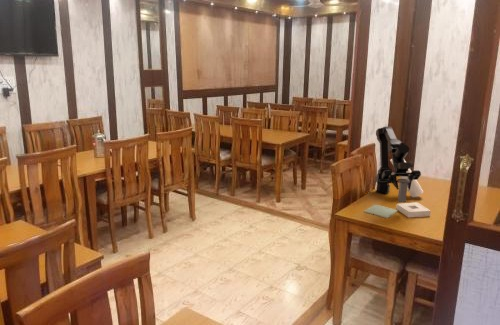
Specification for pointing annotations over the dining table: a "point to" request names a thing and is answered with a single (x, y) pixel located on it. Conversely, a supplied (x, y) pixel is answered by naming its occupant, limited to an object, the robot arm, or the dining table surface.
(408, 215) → the socket block
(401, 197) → the t key
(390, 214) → the pad
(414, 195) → the cylindrical container
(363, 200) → the dining table surface
